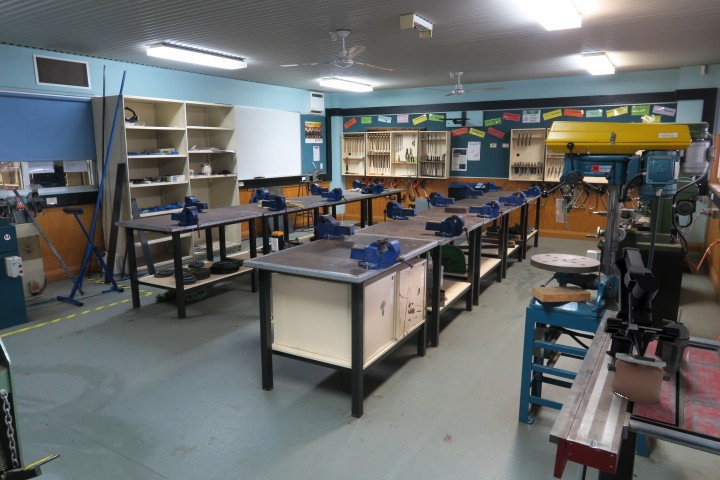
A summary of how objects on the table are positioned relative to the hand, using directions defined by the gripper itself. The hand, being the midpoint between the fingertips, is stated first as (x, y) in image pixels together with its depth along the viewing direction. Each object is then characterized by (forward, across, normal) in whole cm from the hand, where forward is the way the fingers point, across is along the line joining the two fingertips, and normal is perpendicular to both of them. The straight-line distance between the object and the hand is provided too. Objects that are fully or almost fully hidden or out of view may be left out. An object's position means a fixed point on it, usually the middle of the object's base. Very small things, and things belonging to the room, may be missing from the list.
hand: (641, 357), depth 135 cm
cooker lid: (+1, 0, -2) cm, 2 cm away
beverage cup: (-8, -14, -24) cm, 29 cm away
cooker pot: (+8, 0, -8) cm, 11 cm away
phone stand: (-17, -16, -33) cm, 41 cm away
